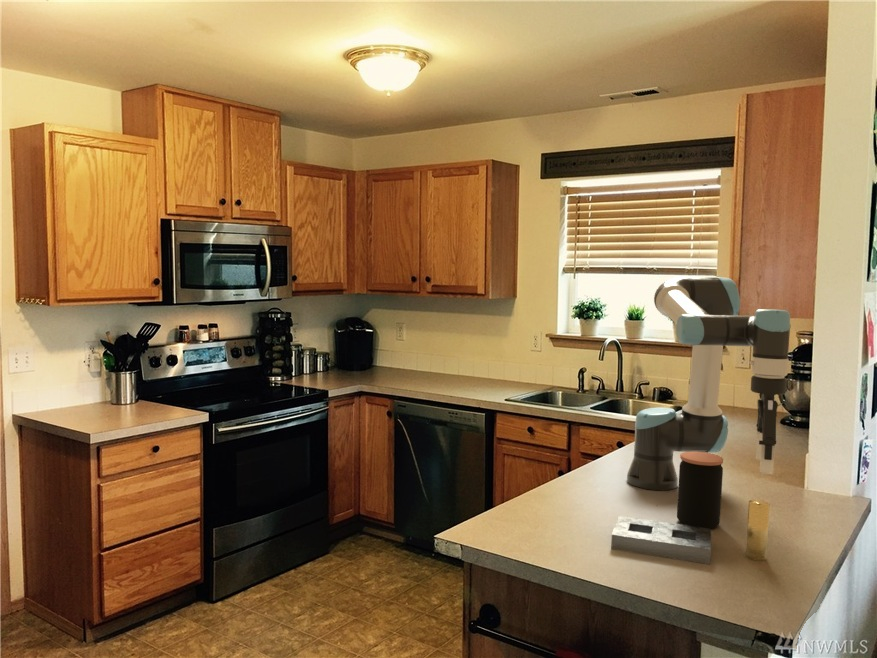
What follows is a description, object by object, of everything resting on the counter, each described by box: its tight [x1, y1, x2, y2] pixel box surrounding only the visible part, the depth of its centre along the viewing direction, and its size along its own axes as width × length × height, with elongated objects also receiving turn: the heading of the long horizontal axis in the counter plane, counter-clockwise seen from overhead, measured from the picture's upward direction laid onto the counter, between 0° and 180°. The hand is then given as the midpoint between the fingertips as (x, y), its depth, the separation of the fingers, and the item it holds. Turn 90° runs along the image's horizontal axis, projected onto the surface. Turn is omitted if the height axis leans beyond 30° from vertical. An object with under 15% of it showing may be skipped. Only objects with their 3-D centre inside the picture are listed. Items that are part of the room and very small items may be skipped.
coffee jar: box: [676, 452, 724, 530], centre depth 188 cm, size 11×11×18 cm
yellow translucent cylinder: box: [745, 499, 770, 562], centre depth 167 cm, size 4×4×13 cm
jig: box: [610, 515, 712, 565], centre depth 173 cm, size 14×22×4 cm, turn 69°
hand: (764, 466), depth 168 cm, fingers open, 13 cm apart
